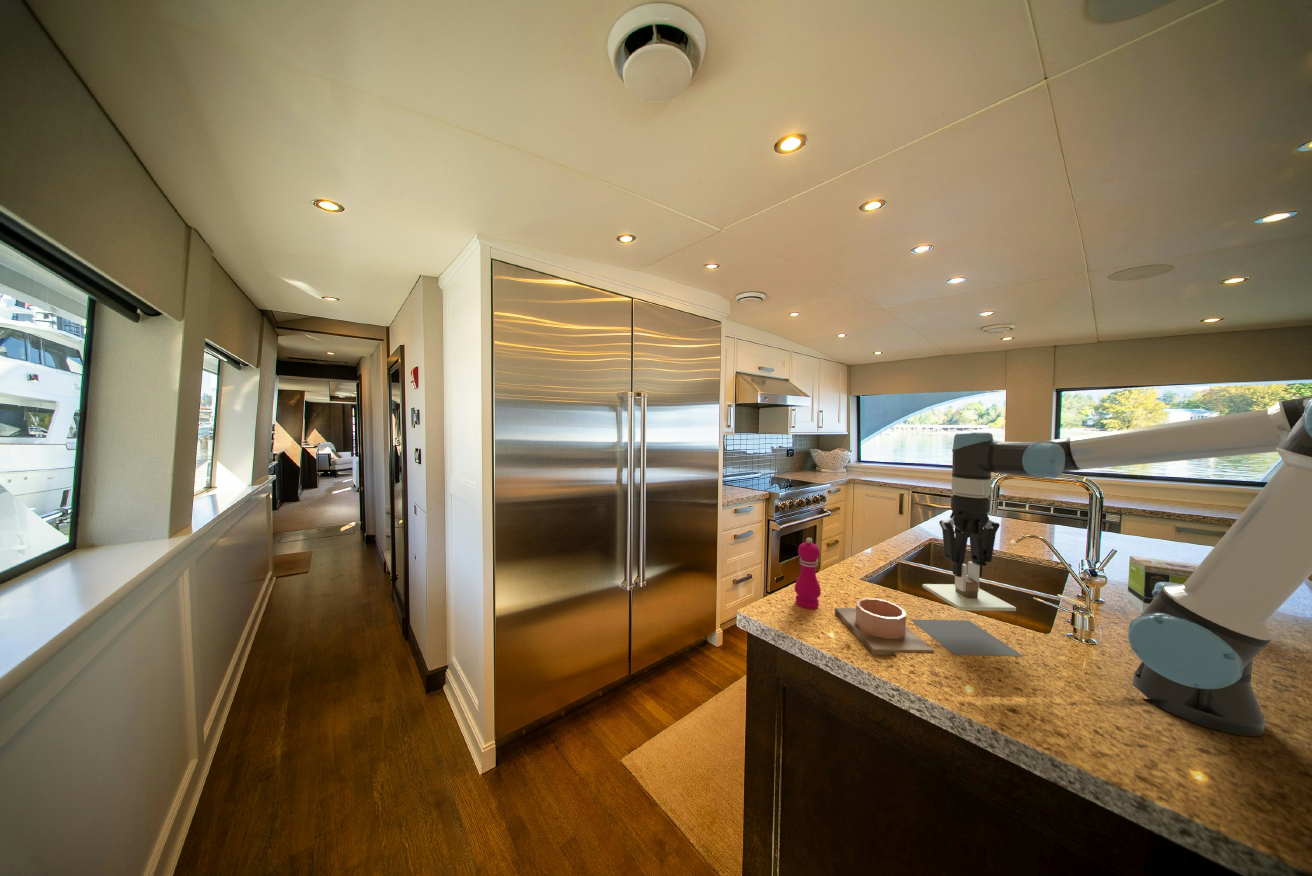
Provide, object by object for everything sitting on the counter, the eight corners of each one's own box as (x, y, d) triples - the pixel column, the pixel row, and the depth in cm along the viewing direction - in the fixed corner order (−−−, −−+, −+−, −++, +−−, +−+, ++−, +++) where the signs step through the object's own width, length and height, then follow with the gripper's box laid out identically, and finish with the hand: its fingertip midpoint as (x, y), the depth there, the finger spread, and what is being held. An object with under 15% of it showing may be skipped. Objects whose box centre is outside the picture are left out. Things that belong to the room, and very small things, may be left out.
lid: (1016, 610, 92) (1017, 590, 91) (959, 610, 92) (960, 589, 91) (971, 587, 105) (972, 569, 104) (922, 586, 105) (923, 569, 104)
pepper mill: (822, 611, 113) (825, 542, 112) (795, 608, 114) (798, 540, 113) (817, 600, 120) (819, 535, 119) (792, 597, 121) (794, 533, 120)
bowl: (914, 638, 96) (915, 619, 96) (869, 638, 96) (870, 618, 96) (888, 616, 107) (889, 598, 107) (848, 615, 107) (848, 597, 107)
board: (933, 656, 92) (933, 649, 92) (873, 655, 92) (873, 648, 92) (884, 613, 112) (884, 608, 112) (834, 612, 112) (835, 607, 112)
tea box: (1202, 615, 114) (1207, 564, 113) (1226, 630, 106) (1231, 576, 105) (1125, 601, 122) (1129, 554, 121) (1141, 614, 114) (1145, 564, 113)
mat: (1023, 660, 91) (1023, 655, 91) (954, 659, 91) (954, 654, 91) (968, 623, 107) (969, 620, 107) (909, 622, 107) (909, 619, 107)
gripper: (988, 492, 101) (985, 583, 102) (928, 491, 101) (925, 582, 102) (1015, 498, 93) (1011, 595, 94) (950, 497, 93) (946, 595, 94)
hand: (966, 588), depth 98 cm, fingers closed on lid, 2 cm apart
